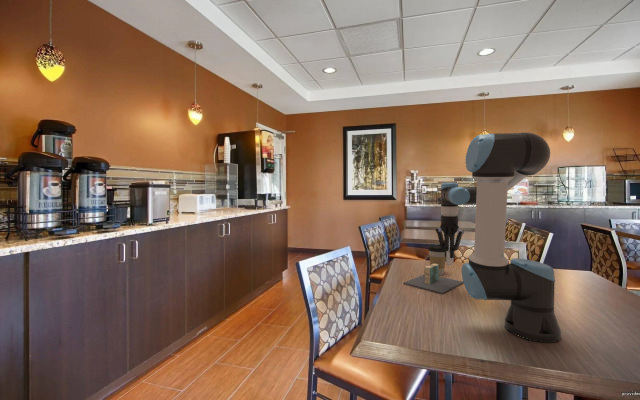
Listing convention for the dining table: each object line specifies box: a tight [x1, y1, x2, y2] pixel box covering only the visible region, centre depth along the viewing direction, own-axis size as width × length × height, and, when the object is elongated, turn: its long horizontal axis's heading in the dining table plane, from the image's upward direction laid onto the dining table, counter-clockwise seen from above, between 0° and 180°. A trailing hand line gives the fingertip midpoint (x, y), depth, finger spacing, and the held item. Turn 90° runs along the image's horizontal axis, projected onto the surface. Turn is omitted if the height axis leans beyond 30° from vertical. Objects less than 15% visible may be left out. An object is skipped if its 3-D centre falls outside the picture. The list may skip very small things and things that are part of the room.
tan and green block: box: [424, 264, 440, 284], centre depth 149 cm, size 9×3×8 cm, turn 132°
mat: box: [403, 273, 464, 295], centre depth 148 cm, size 22×20×1 cm
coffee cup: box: [427, 244, 446, 276], centre depth 165 cm, size 10×10×15 cm
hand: (449, 264), depth 142 cm, fingers closed
